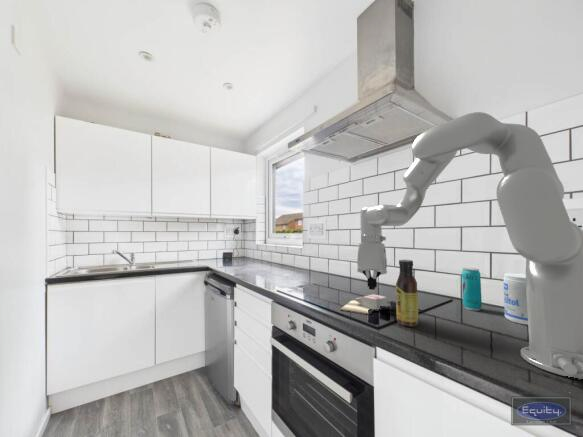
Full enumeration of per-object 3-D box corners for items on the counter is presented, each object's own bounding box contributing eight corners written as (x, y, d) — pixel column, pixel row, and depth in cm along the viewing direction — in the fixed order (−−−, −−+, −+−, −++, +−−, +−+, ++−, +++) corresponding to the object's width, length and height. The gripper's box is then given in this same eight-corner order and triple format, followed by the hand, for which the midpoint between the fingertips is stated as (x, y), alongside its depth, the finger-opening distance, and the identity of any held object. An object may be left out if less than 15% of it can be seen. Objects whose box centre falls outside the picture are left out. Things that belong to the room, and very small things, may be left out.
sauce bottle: (397, 319, 83) (395, 258, 84) (418, 322, 80) (416, 259, 81) (395, 326, 77) (394, 260, 78) (418, 329, 74) (416, 261, 75)
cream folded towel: (370, 315, 87) (370, 313, 87) (340, 310, 93) (340, 308, 93) (379, 305, 99) (379, 303, 99) (352, 301, 105) (351, 300, 105)
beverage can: (461, 306, 98) (460, 267, 99) (479, 307, 96) (478, 268, 97) (464, 310, 93) (462, 269, 94) (483, 312, 91) (481, 270, 92)
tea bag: (376, 310, 91) (354, 304, 99) (387, 307, 95) (364, 301, 103) (376, 300, 91) (354, 294, 99) (386, 297, 95) (364, 292, 103)
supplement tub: (497, 317, 85) (495, 273, 86) (520, 315, 87) (518, 272, 87) (528, 327, 75) (526, 278, 76) (554, 326, 77) (551, 277, 78)
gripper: (393, 239, 95) (395, 289, 94) (354, 239, 102) (355, 285, 101) (390, 240, 88) (391, 293, 87) (348, 239, 96) (349, 288, 95)
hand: (372, 288), depth 94 cm, fingers closed
